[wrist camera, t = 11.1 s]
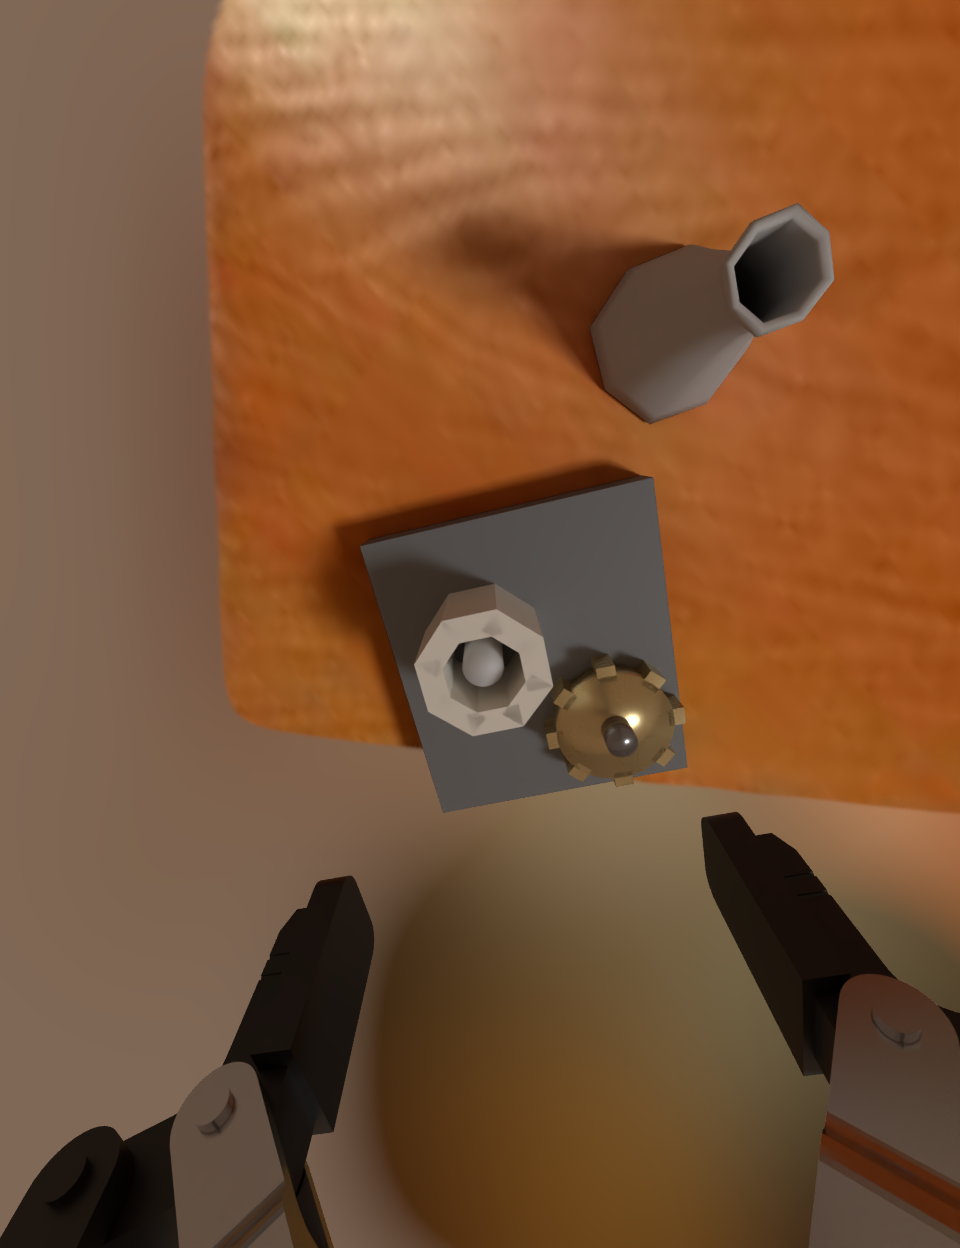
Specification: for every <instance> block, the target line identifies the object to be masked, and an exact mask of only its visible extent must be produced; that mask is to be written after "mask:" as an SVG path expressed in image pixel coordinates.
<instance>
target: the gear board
mask: <svg viewBox="0 0 960 1248" xmlns="http://www.w3.org/2000/svg"><path fill="white" fill-rule="evenodd" d="M360 548H361V552H362V555H363V558H364V561H365V564H366V568H367V571H368V574H369V577H370V580H371V584H372V587H373V590H374V593H375V596H376V600H377V603H378V606H379V609H380V612H381V616H382V619H383V622H384V625H385V629H386V632H387V635H388V638H389V641H390V645H391V648H392V651H393V654H394V657H395V661H396V664H397V667H398V670H399V673H400V677H401V680H402V683H403V686H404V689H405V693H406V696H407V699H408V702H409V705H410V709H411V712H412V715H413V718H414V721H415V725H416V728H417V731H418V734H419V737H420V741H421V744H422V747H423V750H424V753H425V757H426V760H427V763H428V766H429V769H430V773H431V776H432V779H433V782H434V785H435V789H436V792H437V795H438V798H439V802H440V805H441V808H442V811H443V813H444V812H449V811H455V810H460V809H465V808H471V807H476V806H482V805H487V804H493V803H498V802H503V801H509V800H514V799H519V798H525V797H530V796H535V795H540V794H546V793H552V792H557V791H562V790H568V789H573V788H579V787H584V786H589V785H594V784H600V783H605V782H611V781H614V780H613V778H600V777H595V776H592V775H588V776H587V777H586V779H585V780H584V781H583V782H582V781H580V780H578V779H576V778H575V777H573V776H571V775H569V774H568V771H567V767H566V763H565V759H564V758H565V756H564V754H563V753H562V751H561V749H560V748H555V749H550V750H549V746H548V741H547V737H546V732H545V727H544V722H543V720H547V719H552V718H553V712H554V706H555V704H554V703H553V699H552V696H551V692H549V693H548V694H547V696H546V697H545V698H544V700H543V701H542V702H541V704H540V705H539V706H538V708H537V709H536V710H535V712H534V713H533V714H532V716H531V717H530V718H529V720H528V721H527V722H526V724H525V725H524V726H523V727H518V728H513V729H507V730H502V731H497V732H492V733H487V734H482V735H477V736H471V735H470V734H468V733H466V732H464V731H462V730H461V729H459V728H457V727H455V726H453V725H451V724H450V723H448V722H446V721H444V720H442V719H440V718H439V717H437V716H435V715H433V714H431V713H430V712H428V709H427V706H426V703H425V699H424V696H423V693H422V689H421V686H420V683H419V679H418V676H417V673H416V669H415V666H414V663H415V660H416V657H417V654H418V651H419V648H420V645H421V643H422V640H423V637H424V634H425V631H426V629H427V628H428V626H429V625H430V623H431V621H432V620H433V618H434V617H435V615H436V613H437V612H438V610H439V609H440V607H441V605H442V604H443V602H444V601H445V599H446V597H447V596H448V594H450V593H454V592H459V591H464V590H468V589H473V588H477V587H482V586H486V585H491V584H496V585H498V586H500V587H501V588H503V589H504V590H506V591H508V592H509V593H511V594H513V595H514V596H516V597H518V598H519V599H521V600H522V601H524V602H526V603H527V604H529V605H531V606H532V607H534V608H535V612H536V615H537V618H538V621H539V625H540V628H541V631H542V634H543V638H544V643H545V648H546V653H547V658H548V663H549V668H550V673H551V678H552V683H553V686H554V684H555V683H556V682H557V680H558V679H559V678H560V677H562V678H564V679H565V680H567V681H570V680H571V679H573V678H574V677H575V676H577V675H578V674H579V673H581V672H583V671H585V670H587V669H590V668H592V666H591V660H590V658H592V657H597V656H602V655H607V654H608V655H609V656H610V658H611V660H612V661H613V663H614V664H624V665H628V666H632V667H635V668H637V666H638V665H639V664H640V663H641V661H642V660H644V661H646V662H647V663H649V664H651V665H652V666H654V667H655V668H657V669H658V670H659V672H660V673H661V674H662V675H663V677H664V678H665V679H666V681H665V682H664V684H663V685H662V686H661V687H660V689H661V690H662V691H663V693H664V694H665V695H666V696H668V695H673V694H674V695H675V696H676V697H677V699H678V700H679V692H678V684H677V675H676V667H675V658H674V650H673V641H672V633H671V624H670V616H669V607H668V599H667V590H666V581H665V573H664V564H663V556H662V547H661V539H660V530H659V522H658V513H657V505H656V496H655V488H654V479H653V477H648V476H642V475H641V476H637V477H633V478H628V479H624V480H620V481H616V482H611V483H607V484H603V485H599V486H595V487H590V488H586V489H582V490H578V491H573V492H569V493H565V494H561V495H556V496H552V497H548V498H544V499H539V500H535V501H531V502H527V503H523V504H518V505H514V506H510V507H506V508H501V509H497V510H493V511H489V512H484V513H480V514H476V515H472V516H468V517H463V518H459V519H455V520H451V521H446V522H442V523H438V524H434V525H429V526H425V527H421V528H417V529H412V530H408V531H404V532H400V533H396V534H391V535H387V536H383V537H379V538H374V539H370V540H368V541H366V542H365V543H364V544H362V545H361V546H360ZM515 652H516V651H515V650H513V649H512V648H510V647H508V646H507V645H505V644H503V643H501V642H500V641H498V640H496V639H495V638H493V637H487V638H482V639H478V640H473V641H468V642H463V643H459V644H458V646H457V647H456V649H455V650H454V655H455V659H456V660H457V661H459V662H461V663H462V664H463V665H462V670H463V674H464V676H465V678H466V679H467V680H468V681H469V682H470V683H472V684H474V685H476V686H481V687H486V686H490V685H493V684H495V683H496V682H497V681H498V680H499V679H500V678H501V677H502V675H503V672H504V667H505V666H506V665H507V664H508V662H509V661H510V659H511V658H512V656H513V655H514V654H515ZM670 746H671V747H672V749H673V751H674V752H675V755H674V756H673V757H672V758H671V760H670V761H669V762H668V763H667V764H666V765H665V766H662V765H660V764H658V763H657V762H655V763H654V764H653V765H651V766H650V767H648V768H647V769H645V770H643V771H641V772H639V773H637V774H634V775H632V776H633V777H638V776H643V775H649V774H654V773H659V772H665V771H670V770H676V769H681V768H686V767H687V761H686V752H685V743H684V735H683V726H682V724H680V725H675V729H674V734H673V738H672V740H671V743H670Z"/></svg>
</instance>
